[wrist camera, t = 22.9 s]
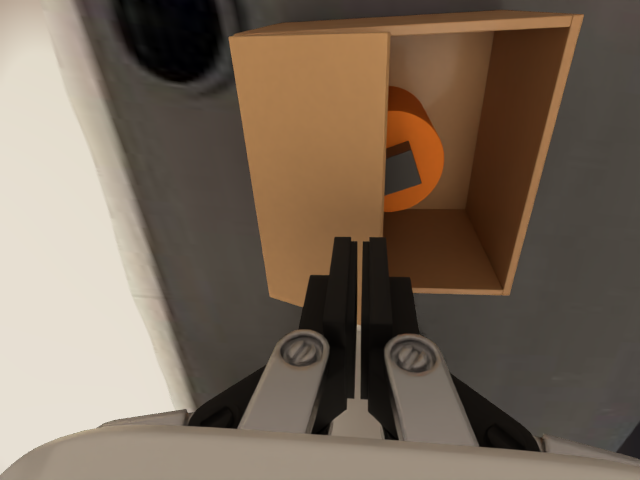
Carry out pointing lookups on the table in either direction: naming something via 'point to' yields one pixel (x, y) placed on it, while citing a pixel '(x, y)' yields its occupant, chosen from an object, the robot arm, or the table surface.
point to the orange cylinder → (410, 152)
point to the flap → (313, 147)
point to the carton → (471, 135)
